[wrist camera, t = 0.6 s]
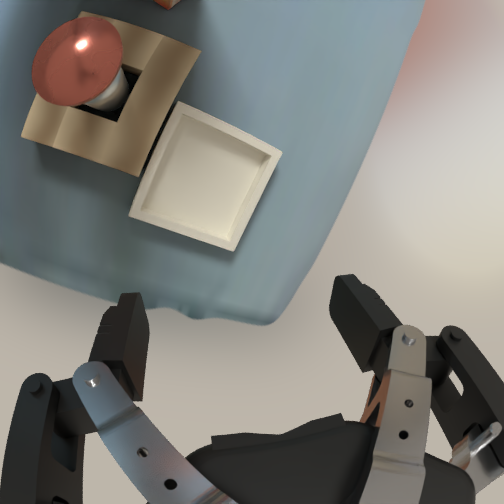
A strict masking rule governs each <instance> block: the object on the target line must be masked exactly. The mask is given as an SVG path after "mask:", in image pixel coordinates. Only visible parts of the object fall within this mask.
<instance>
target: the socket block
mask: <svg viewBox="0 0 504 504" xmlns="http://www.w3.org/2000/svg"><path fill="white" fill-rule="evenodd" d="M81 17H98V18H102V19H105V20H107V21H108V22H110V23H111V24H112V25H113V26H114V27H115V28H116V29H117V31H118V32H119V34H120V37H121V40H122V44H123V61H122V65H121V68H122V70H123V71H126V72H129V73H132V74H134V75H137V76H140V77H139V79H138V81H137V82H136V84H135V86H134V88H133V90H132V92H131V94H130V96H129V98H128V100H127V102H126V104H125V106H124V108H123V110H122V113H121V115H120V117H119V119H118V121H117V122H115V121H112V120H109V119H106V118H104V117H101V116H98V115H95V114H92V113H89V112H86V111H83V110H80V109H78V107H79V105H77V106H70V107H66V106H59V105H55V104H52V103H49V102H47V101H45V100H44V99H43V98H41V97H40V96H39V94H38V93H37V94H36V96H35V99H34V101H33V104H32V106H31V109H30V112H29V114H28V117H27V120H26V122H25V125H24V128H23V131H22V134H21V137H23V138H26V139H29V140H32V141H35V142H38V143H42V144H45V145H48V146H51V147H54V148H57V149H60V150H63V151H66V152H69V153H72V154H75V155H78V156H80V157H83V158H86V159H89V160H92V161H95V162H98V163H101V164H103V165H106V166H109V167H112V168H115V169H118V170H120V171H123V172H126V173H129V174H131V175H134V176H137V177H139V175H140V172H141V170H142V167H143V165H144V163H145V160H146V158H147V156H148V153H149V151H150V149H151V146H152V144H153V142H154V140H155V138H156V135H157V133H158V131H159V129H160V127H161V125H162V123H163V121H164V119H165V117H166V115H167V113H168V111H169V109H170V107H171V105H172V103H173V101H174V99H175V97H176V95H177V93H178V91H179V89H180V88H181V86H182V84H183V82H184V80H185V79H186V77H187V75H188V73H189V72H190V70H191V68H192V66H193V65H194V63H195V61H196V60H197V58H198V56H199V55H200V53H201V51H200V50H198V49H196V48H193V47H191V46H189V45H186V44H184V43H182V42H179V41H177V40H174V39H172V38H169V37H167V36H164V35H161V34H159V33H156V32H153V31H150V30H148V29H145V28H142V27H139V26H136V25H133V24H129V23H126V22H123V21H119V20H116V19H112V18H109V17H105V16H101V15H97V14H93V13H89V12H84V11H82V12H81V13H80V15H79V16H78V18H81Z"/></svg>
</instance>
